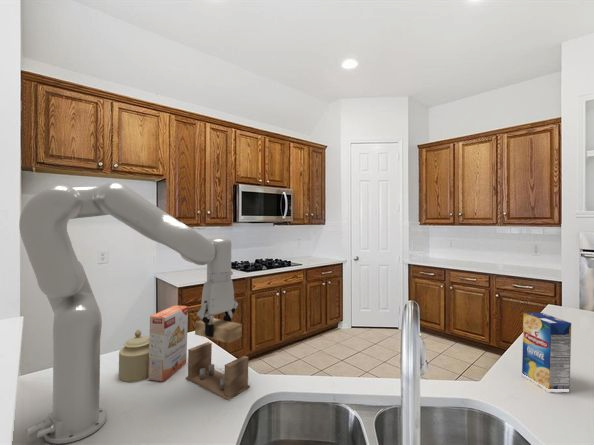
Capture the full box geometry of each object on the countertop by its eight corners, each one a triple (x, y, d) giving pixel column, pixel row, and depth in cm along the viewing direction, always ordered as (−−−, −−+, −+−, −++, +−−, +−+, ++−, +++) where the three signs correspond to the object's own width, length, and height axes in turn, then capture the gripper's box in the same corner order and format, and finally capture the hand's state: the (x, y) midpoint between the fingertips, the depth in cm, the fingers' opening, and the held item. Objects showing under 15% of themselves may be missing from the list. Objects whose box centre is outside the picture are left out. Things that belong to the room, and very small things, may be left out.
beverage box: (549, 393, 98) (550, 323, 97) (521, 375, 109) (523, 312, 108) (569, 393, 98) (571, 323, 98) (540, 375, 109) (542, 312, 109)
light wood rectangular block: (195, 334, 100) (195, 322, 100) (208, 328, 106) (208, 317, 106) (229, 343, 94) (229, 330, 94) (241, 336, 99) (241, 324, 99)
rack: (227, 400, 90) (228, 367, 90) (185, 378, 102) (186, 349, 102) (249, 387, 97) (250, 356, 97) (208, 368, 109) (208, 341, 109)
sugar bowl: (129, 362, 113) (130, 320, 113) (162, 360, 115) (162, 319, 115) (112, 383, 98) (113, 336, 98) (150, 381, 100) (150, 334, 100)
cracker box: (164, 382, 99) (165, 317, 99) (147, 380, 100) (148, 315, 100) (187, 363, 113) (188, 305, 113) (172, 361, 114) (173, 304, 114)
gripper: (231, 272, 109) (230, 323, 109) (188, 279, 95) (187, 338, 95) (247, 274, 104) (246, 328, 104) (204, 282, 90) (203, 344, 90)
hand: (218, 332), depth 100 cm, fingers closed on light wood rectangular block, 6 cm apart
